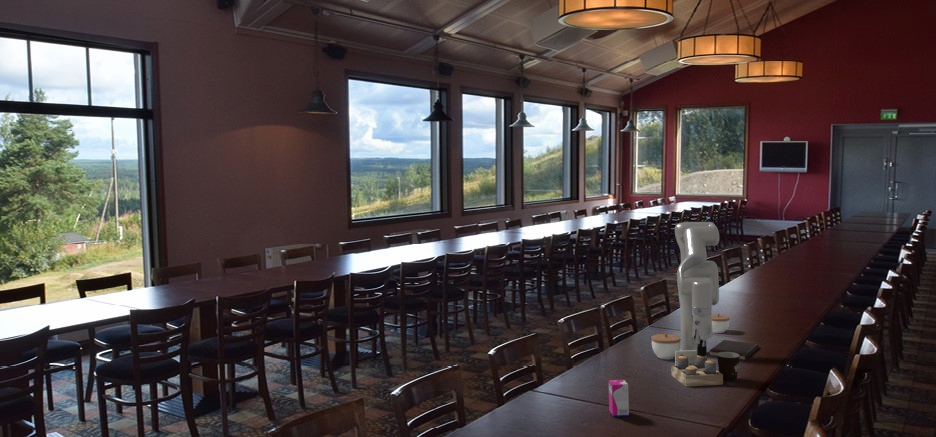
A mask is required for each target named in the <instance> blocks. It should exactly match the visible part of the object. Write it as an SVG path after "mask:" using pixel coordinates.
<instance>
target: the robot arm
mask: <svg viewBox="0 0 936 437" xmlns="http://www.w3.org/2000/svg"><path fill="white" fill-rule="evenodd" d="M674 235H675V239H676V242H677V245H678V247H679V250H680V264H679V266H678V268H677V272H676V281H677V282H676V283H677V290H678V291H677V292H678V301H679V307H680V308H679V309H680V339H681V340H680V349H679V351H688V350H697V356H707V354H708V353H707V349H708V348H707V346H708V345H707V344H708V340H709V339H711V338H712V337H713V333H714V332H712V317H711V315H713V311H712V310H713V309H712V308H713V306H716V305H718V304H719V301H720V286H719V269H718V264H717V262H715V261H714V260H707V258H708V255H707V246H717V245H718V244H719V242H720V232H719V229H718V227H717V226H716V224H715V223H714V222H713V221H683V222H679V223H677V224H676V225H675V227H674Z"/></svg>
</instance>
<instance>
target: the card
mask: <svg viewBox="0 0 936 437" xmlns="http://www.w3.org/2000/svg"><path fill="white" fill-rule="evenodd" d="M679 356H686V357H688V365H691V364H696V356H697V350H688V351H675V357H674V360H675V361H674V363H675V364H674V365H677V358H678V357H679Z"/></svg>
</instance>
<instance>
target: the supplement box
mask: <svg viewBox="0 0 936 437" xmlns="http://www.w3.org/2000/svg"><path fill="white" fill-rule="evenodd" d="M629 403H630V402H629V383H628V382H627V381H626V380H625V379H611V380H610V379H609V380H608V411H609V412H610V414H611V416H612V418H616V417H617V418H618V417H619V418H620V417H621V418H622V417H629V415H630V411H629V410H630V406H629Z"/></svg>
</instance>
